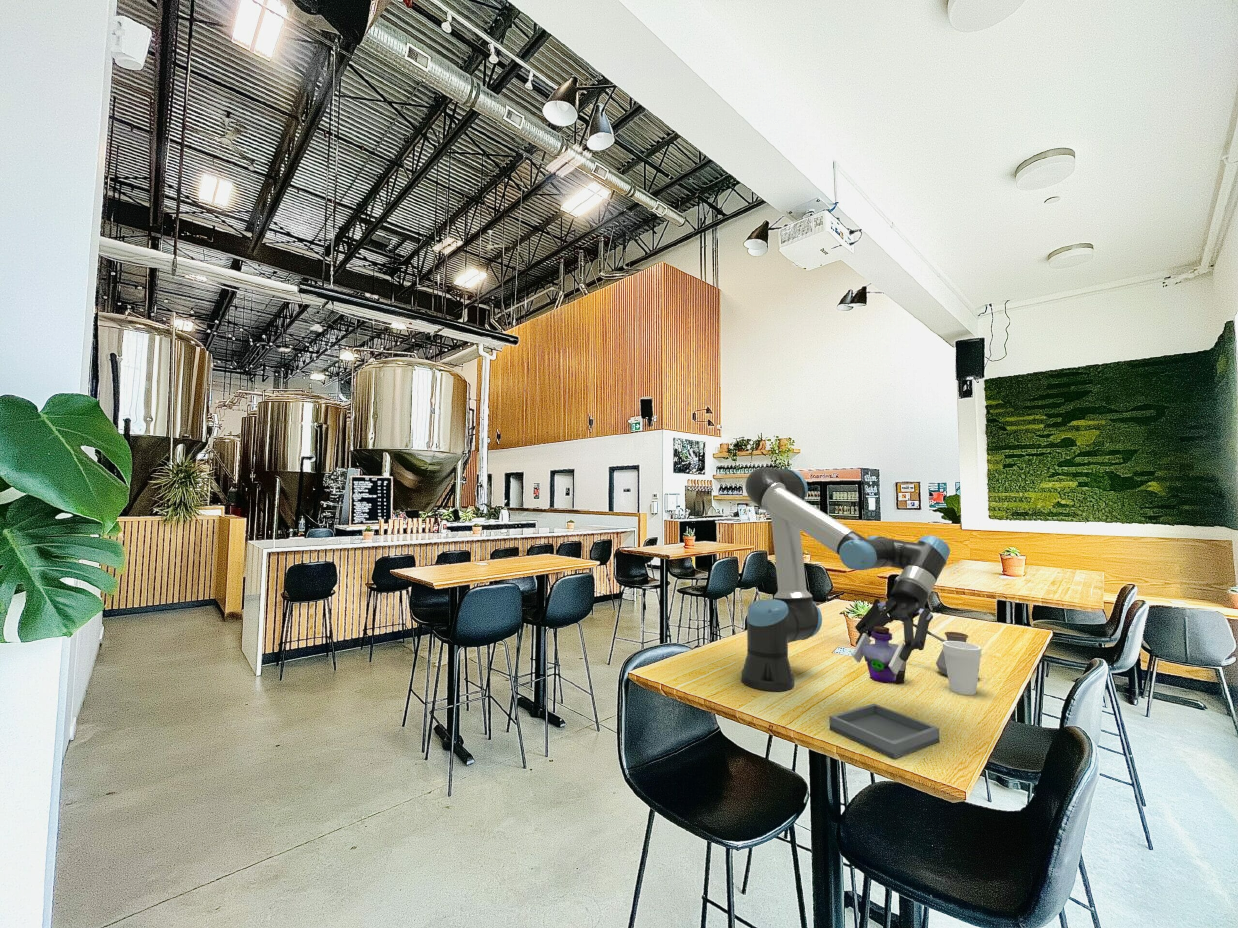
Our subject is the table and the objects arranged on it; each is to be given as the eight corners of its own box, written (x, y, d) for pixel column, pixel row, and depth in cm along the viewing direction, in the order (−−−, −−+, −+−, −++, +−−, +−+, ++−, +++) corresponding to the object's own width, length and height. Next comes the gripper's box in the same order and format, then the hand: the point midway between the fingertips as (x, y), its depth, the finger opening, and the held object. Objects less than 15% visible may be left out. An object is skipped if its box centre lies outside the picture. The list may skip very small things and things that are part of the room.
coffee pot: (983, 676, 164) (981, 627, 165) (975, 684, 156) (973, 633, 157) (908, 660, 179) (907, 616, 180) (897, 667, 171) (896, 621, 172)
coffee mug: (900, 676, 162) (900, 643, 163) (913, 685, 154) (913, 651, 154) (862, 674, 163) (861, 641, 164) (872, 683, 155) (872, 649, 155)
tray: (829, 729, 123) (829, 715, 123) (874, 715, 131) (874, 703, 132) (894, 758, 109) (893, 744, 109) (939, 741, 117) (939, 727, 118)
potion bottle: (863, 682, 119) (862, 628, 119) (861, 671, 127) (860, 621, 127) (906, 688, 115) (904, 633, 116) (900, 676, 123) (899, 624, 124)
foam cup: (985, 691, 150) (984, 645, 151) (979, 699, 143) (978, 651, 144) (947, 682, 157) (946, 639, 158) (940, 690, 150) (939, 644, 151)
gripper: (964, 606, 121) (927, 688, 112) (879, 592, 139) (841, 661, 130) (951, 585, 118) (912, 667, 109) (866, 573, 137) (826, 642, 128)
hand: (873, 664), depth 120 cm, fingers closed on potion bottle, 9 cm apart
